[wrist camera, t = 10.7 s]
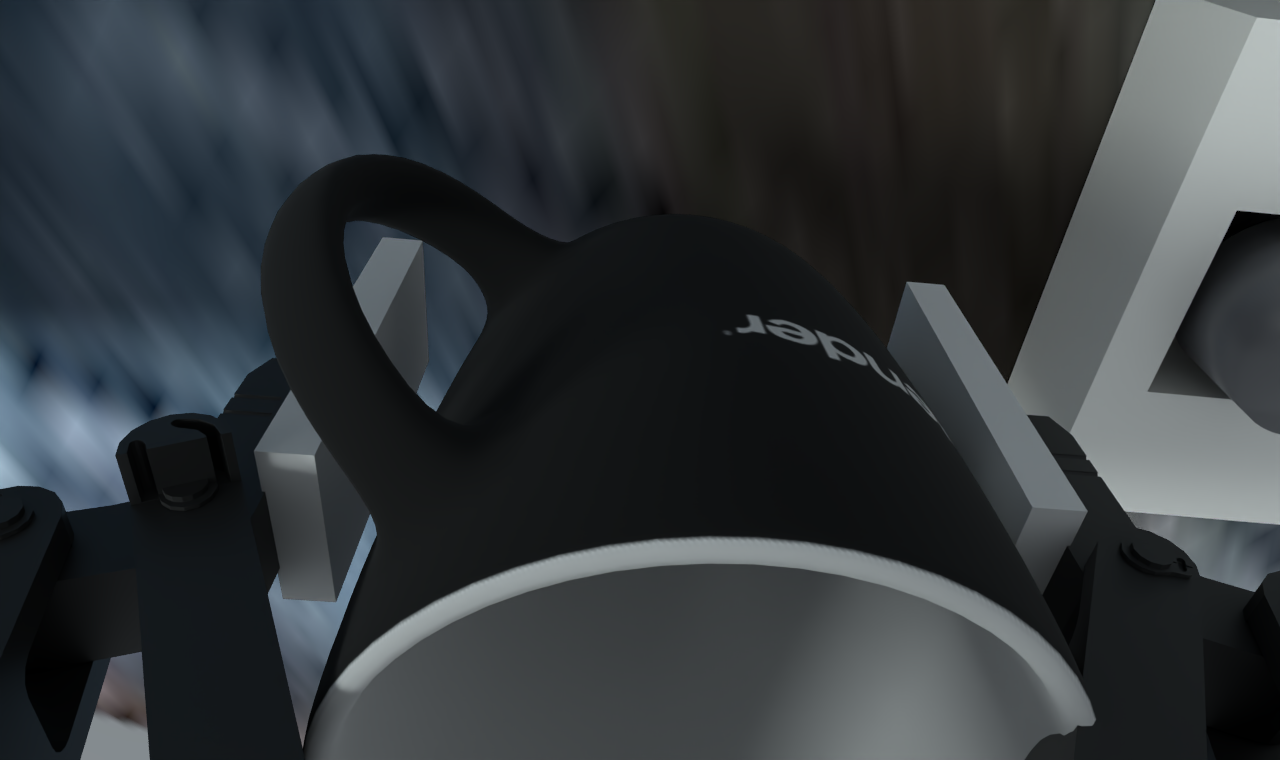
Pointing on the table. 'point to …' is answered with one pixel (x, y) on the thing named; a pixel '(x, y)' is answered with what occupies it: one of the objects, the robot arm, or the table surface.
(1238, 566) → the table surface
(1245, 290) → the dark grey rounded piece
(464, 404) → the mug
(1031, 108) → the table surface
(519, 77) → the table surface
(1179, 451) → the white rectangular box
